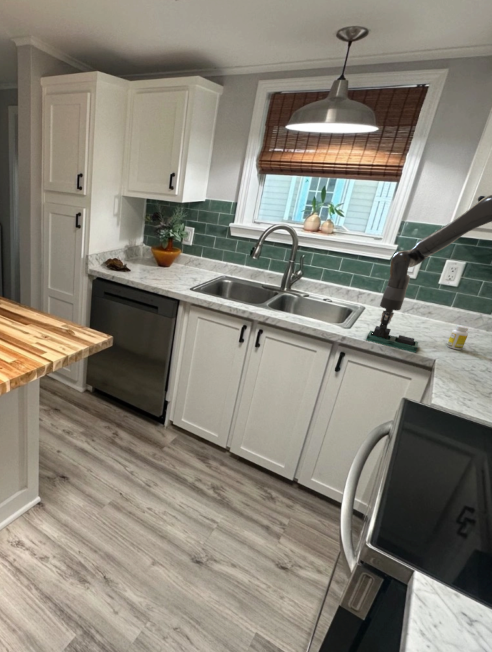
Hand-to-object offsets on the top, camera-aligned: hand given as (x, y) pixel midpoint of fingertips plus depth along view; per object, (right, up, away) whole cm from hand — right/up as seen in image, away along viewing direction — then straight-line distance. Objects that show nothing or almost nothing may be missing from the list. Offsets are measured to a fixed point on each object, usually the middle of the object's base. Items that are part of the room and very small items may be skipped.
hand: (381, 334), depth 179 cm
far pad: (0, -1, 0) cm, 1 cm away
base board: (+3, -4, -1) cm, 6 cm away
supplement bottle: (+32, -6, 0) cm, 32 cm away
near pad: (+7, -5, -4) cm, 9 cm away
